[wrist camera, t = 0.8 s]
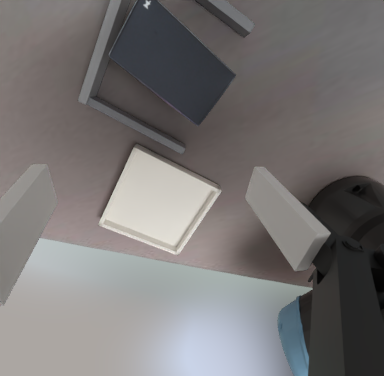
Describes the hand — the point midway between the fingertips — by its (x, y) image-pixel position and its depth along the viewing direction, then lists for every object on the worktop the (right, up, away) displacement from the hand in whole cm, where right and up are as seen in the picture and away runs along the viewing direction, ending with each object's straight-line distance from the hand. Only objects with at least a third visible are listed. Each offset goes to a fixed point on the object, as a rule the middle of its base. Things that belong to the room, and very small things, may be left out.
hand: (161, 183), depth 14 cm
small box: (0, +15, +15) cm, 21 cm away
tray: (-4, -3, +23) cm, 23 cm away
